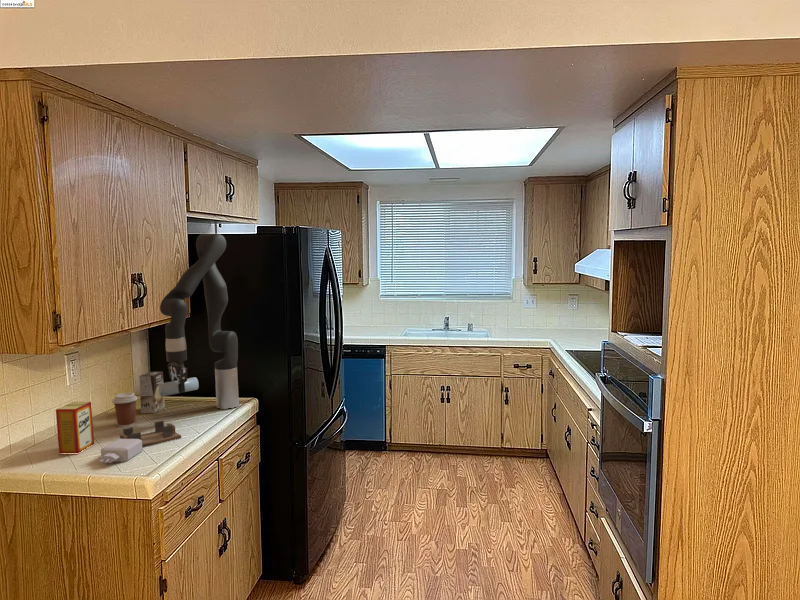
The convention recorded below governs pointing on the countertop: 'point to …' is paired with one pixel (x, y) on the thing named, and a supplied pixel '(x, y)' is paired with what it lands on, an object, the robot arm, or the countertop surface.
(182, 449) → the countertop surface
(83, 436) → the baking soda box
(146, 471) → the countertop surface
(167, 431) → the walnut holder
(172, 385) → the cylinder
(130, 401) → the coffee cup
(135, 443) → the charger
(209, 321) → the robot arm
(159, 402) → the coffee box
